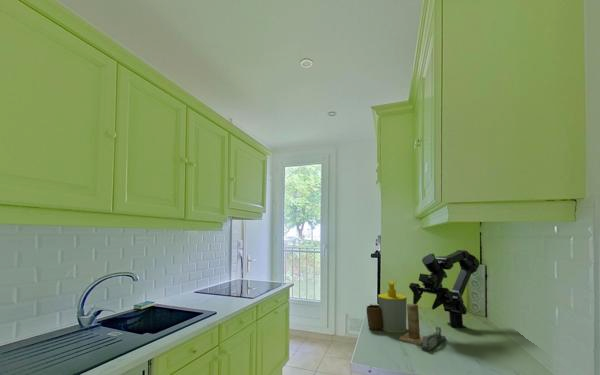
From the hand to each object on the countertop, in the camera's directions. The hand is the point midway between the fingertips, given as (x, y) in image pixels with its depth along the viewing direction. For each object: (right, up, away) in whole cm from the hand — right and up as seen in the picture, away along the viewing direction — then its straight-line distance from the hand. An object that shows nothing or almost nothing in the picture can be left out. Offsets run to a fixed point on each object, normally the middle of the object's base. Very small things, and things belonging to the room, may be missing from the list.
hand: (423, 306), depth 134 cm
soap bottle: (-10, -14, +9) cm, 19 cm away
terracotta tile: (-6, -11, -6) cm, 14 cm away
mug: (-18, -14, +12) cm, 26 cm away
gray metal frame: (0, -11, -11) cm, 15 cm away
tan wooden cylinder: (-6, -10, -6) cm, 13 cm away
